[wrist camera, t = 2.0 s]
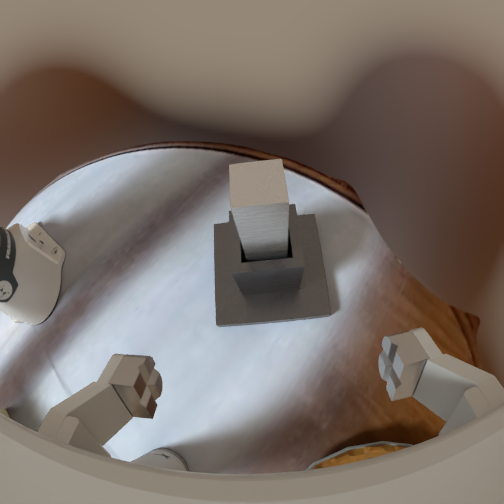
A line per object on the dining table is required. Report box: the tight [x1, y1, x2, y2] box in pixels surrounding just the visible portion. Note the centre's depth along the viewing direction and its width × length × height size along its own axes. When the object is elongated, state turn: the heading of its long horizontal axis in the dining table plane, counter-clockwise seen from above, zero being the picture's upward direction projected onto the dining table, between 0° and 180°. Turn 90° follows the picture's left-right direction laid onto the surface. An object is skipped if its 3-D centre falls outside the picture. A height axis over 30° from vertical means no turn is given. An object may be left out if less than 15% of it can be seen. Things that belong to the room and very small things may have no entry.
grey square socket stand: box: [214, 204, 331, 327], centre depth 32 cm, size 14×14×11 cm
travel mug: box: [131, 448, 189, 471], centre depth 18 cm, size 6×7×20 cm
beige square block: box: [229, 159, 289, 262], centre depth 28 cm, size 4×4×17 cm
